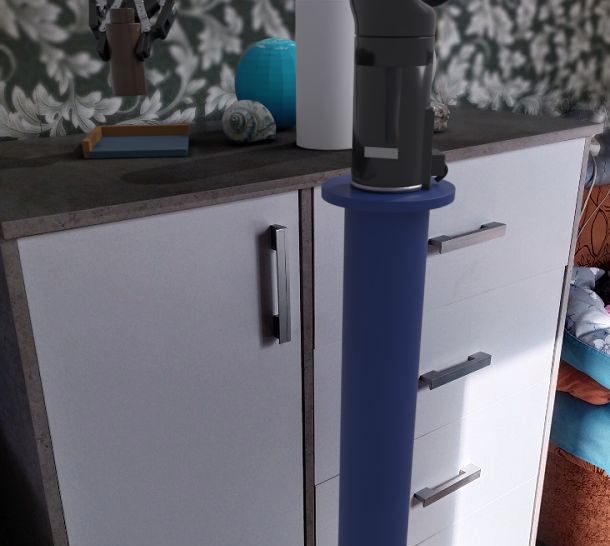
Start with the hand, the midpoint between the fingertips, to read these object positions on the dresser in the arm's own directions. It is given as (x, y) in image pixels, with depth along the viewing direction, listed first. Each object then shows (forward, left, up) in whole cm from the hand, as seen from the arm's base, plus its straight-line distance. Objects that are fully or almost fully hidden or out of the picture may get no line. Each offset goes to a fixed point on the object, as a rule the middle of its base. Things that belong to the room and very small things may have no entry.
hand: (122, 57), depth 115 cm
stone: (-47, -10, -13) cm, 50 cm away
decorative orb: (-24, -16, -13) cm, 32 cm away
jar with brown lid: (0, -2, -5) cm, 6 cm away
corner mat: (-1, +1, -13) cm, 13 cm away
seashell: (-18, -3, -13) cm, 23 cm away
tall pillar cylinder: (-31, +1, -13) cm, 34 cm away
